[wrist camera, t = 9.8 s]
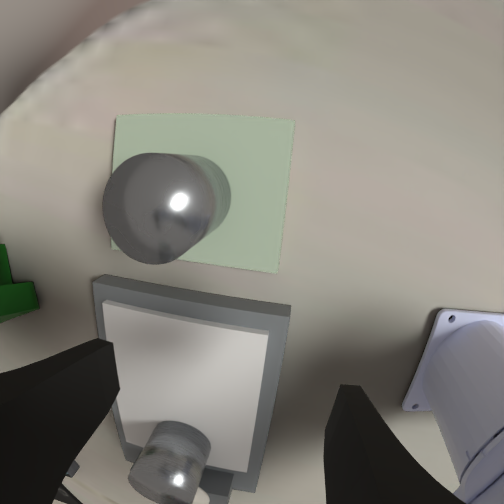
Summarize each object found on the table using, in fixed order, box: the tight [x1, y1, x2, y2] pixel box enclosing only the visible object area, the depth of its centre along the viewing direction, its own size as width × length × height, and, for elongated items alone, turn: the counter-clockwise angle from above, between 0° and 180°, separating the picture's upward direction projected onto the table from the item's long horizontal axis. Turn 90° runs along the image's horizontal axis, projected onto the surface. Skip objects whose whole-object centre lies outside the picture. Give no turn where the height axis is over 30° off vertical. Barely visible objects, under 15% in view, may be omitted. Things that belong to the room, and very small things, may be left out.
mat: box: [111, 113, 295, 274], centre depth 17 cm, size 10×8×1 cm
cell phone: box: [54, 483, 82, 504], centre depth 34 cm, size 9×18×1 cm, turn 110°
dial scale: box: [93, 274, 291, 504], centre depth 19 cm, size 12×19×4 cm, turn 175°
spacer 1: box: [103, 153, 231, 264], centre depth 14 cm, size 4×4×5 cm
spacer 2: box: [128, 421, 211, 504], centre depth 18 cm, size 4×4×5 cm
